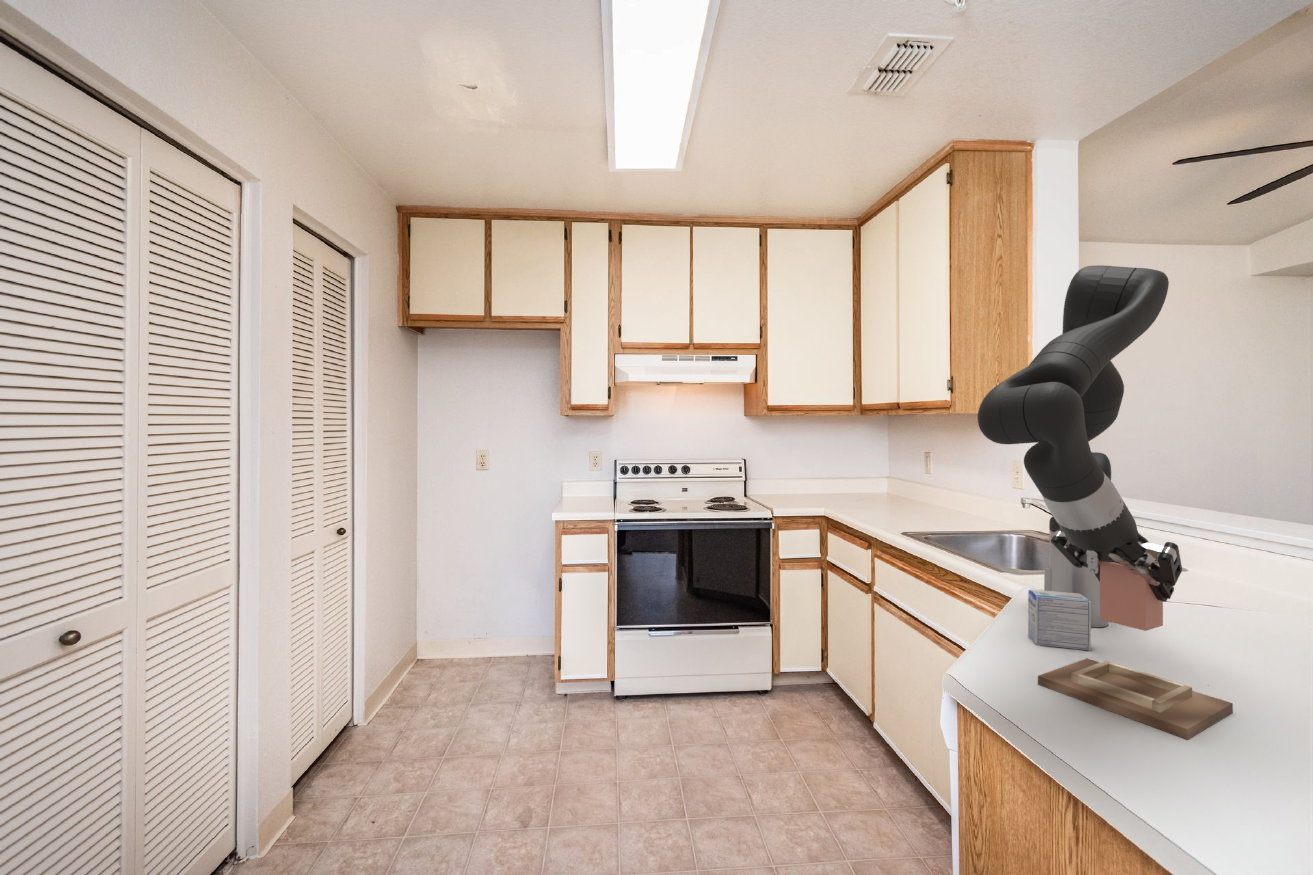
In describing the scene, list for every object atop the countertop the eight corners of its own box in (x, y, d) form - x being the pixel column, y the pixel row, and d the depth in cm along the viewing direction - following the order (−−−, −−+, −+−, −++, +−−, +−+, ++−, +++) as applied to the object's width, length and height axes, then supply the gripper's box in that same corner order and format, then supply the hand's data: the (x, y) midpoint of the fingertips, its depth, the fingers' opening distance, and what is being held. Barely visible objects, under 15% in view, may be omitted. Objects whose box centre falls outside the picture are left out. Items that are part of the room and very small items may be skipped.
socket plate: (1037, 683, 77) (1037, 667, 77) (1086, 665, 83) (1087, 650, 83) (1187, 739, 62) (1187, 719, 62) (1232, 712, 69) (1232, 693, 69)
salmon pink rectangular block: (1099, 619, 74) (1099, 561, 74) (1117, 614, 76) (1117, 558, 76) (1145, 630, 69) (1145, 569, 69) (1162, 625, 72) (1162, 565, 72)
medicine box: (1080, 642, 93) (1080, 593, 93) (1091, 651, 89) (1091, 600, 89) (1027, 636, 96) (1027, 588, 96) (1036, 645, 91) (1036, 595, 92)
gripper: (1167, 490, 63) (1218, 582, 68) (1041, 482, 77) (1090, 559, 81) (1142, 537, 61) (1196, 628, 66) (1016, 520, 75) (1069, 597, 79)
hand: (1137, 589), depth 74 cm, fingers closed on salmon pink rectangular block, 5 cm apart
